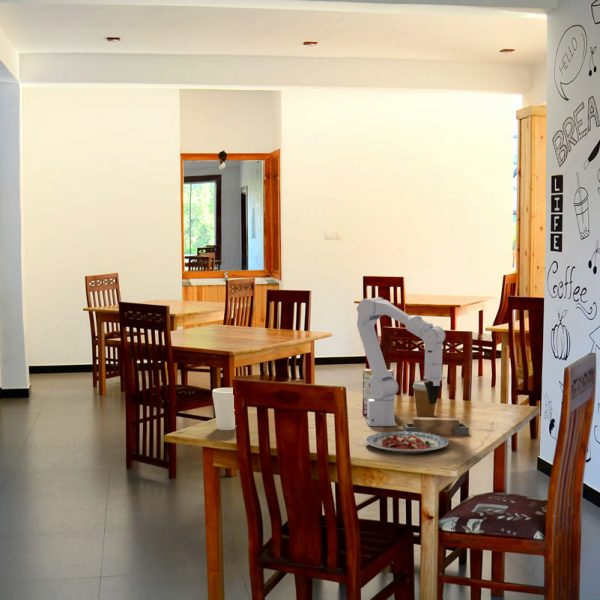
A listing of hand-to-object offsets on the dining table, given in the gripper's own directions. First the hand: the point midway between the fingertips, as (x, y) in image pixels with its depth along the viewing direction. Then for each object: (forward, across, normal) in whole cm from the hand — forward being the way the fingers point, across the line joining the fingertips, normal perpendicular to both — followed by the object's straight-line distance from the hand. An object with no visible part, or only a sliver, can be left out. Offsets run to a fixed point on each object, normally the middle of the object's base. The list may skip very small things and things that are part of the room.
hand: (432, 403), depth 308 cm
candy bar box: (+10, +28, +15) cm, 33 cm away
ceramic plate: (+10, -22, +12) cm, 27 cm away
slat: (+10, -3, -1) cm, 10 cm away
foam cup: (+10, +6, +69) cm, 70 cm away
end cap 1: (+9, -3, +7) cm, 12 cm away
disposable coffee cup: (+10, +26, -2) cm, 28 cm away
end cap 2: (+9, -3, -8) cm, 13 cm away
